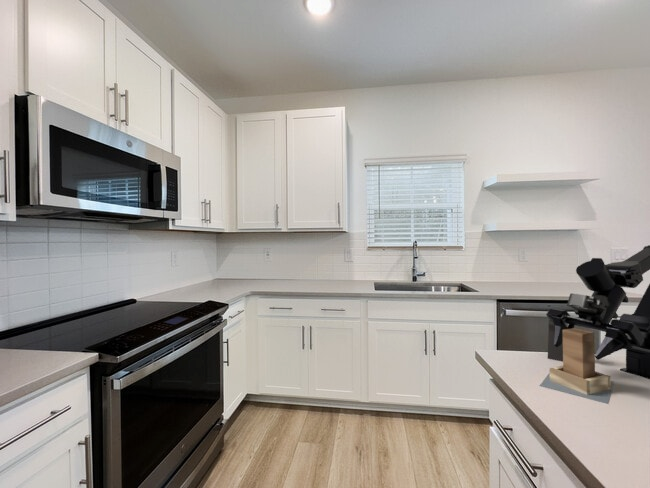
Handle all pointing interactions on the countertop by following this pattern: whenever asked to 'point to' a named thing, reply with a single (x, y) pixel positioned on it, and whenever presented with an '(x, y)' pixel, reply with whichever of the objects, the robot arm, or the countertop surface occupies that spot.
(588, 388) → the maple socket
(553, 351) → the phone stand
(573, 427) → the countertop surface
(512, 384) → the countertop surface
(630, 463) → the countertop surface
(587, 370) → the walnut block
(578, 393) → the slate board
